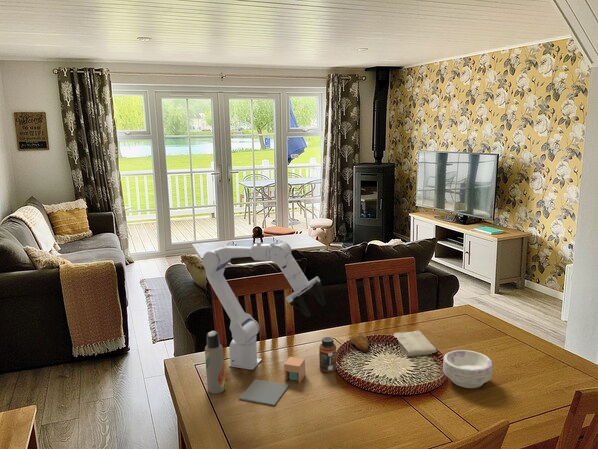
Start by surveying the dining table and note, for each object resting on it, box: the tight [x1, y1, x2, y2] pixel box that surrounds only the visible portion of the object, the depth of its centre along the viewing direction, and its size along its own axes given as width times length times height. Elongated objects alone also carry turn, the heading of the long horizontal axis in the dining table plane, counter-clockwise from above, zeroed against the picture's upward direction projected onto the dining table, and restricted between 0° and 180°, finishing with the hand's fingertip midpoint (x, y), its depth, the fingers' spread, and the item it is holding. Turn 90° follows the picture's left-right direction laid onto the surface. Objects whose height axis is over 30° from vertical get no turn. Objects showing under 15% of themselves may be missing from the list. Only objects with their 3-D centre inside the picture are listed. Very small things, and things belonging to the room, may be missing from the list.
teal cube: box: [288, 372, 299, 382], centre depth 166 cm, size 3×3×3 cm
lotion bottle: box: [204, 330, 226, 395], centre depth 158 cm, size 6×6×20 cm
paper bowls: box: [442, 349, 493, 389], centre depth 160 cm, size 15×15×8 cm
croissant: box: [350, 333, 370, 353], centre depth 189 cm, size 14×7×5 cm, turn 14°
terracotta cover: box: [283, 356, 306, 383], centre depth 165 cm, size 6×6×6 cm
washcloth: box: [392, 330, 438, 357], centre depth 188 cm, size 12×18×3 cm, turn 9°
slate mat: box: [239, 379, 290, 407], centre depth 157 cm, size 12×12×1 cm
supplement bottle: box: [318, 336, 337, 373], centre depth 170 cm, size 6×6×11 cm
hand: (316, 310), depth 161 cm, fingers open, 7 cm apart
